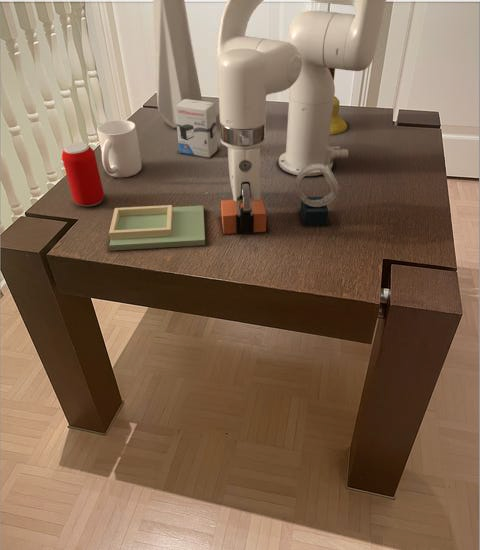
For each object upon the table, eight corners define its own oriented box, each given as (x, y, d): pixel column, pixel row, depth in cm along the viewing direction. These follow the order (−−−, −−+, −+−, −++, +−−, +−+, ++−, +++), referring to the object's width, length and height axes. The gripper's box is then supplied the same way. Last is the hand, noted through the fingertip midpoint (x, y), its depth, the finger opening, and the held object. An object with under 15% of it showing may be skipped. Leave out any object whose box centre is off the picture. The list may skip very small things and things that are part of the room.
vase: (201, 131, 123) (192, -11, 102) (159, 132, 123) (141, -11, 102) (205, 115, 132) (197, -19, 111) (165, 115, 133) (150, -18, 112)
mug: (125, 188, 99) (117, 143, 93) (91, 184, 101) (80, 139, 94) (147, 164, 108) (141, 121, 102) (116, 160, 110) (107, 118, 103)
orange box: (262, 215, 90) (262, 198, 88) (265, 231, 86) (266, 213, 83) (221, 218, 90) (221, 200, 87) (223, 234, 85) (222, 215, 83)
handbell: (354, 131, 122) (370, 27, 106) (311, 136, 120) (321, 30, 104) (336, 115, 131) (349, 17, 115) (296, 119, 129) (303, 20, 113)
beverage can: (85, 212, 92) (70, 156, 84) (69, 202, 95) (53, 147, 87) (111, 201, 95) (99, 146, 88) (94, 191, 98) (81, 137, 91)
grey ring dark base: (336, 225, 87) (344, 172, 80) (295, 226, 87) (299, 173, 80) (331, 209, 92) (338, 158, 85) (291, 210, 92) (295, 159, 85)
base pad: (203, 210, 92) (202, 198, 90) (205, 245, 83) (204, 232, 81) (118, 215, 91) (115, 203, 89) (110, 250, 82) (107, 238, 80)
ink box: (178, 152, 113) (173, 105, 105) (187, 145, 116) (183, 98, 109) (209, 158, 110) (207, 109, 103) (218, 150, 114) (216, 102, 106)
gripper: (272, 152, 70) (268, 248, 81) (258, 112, 83) (257, 199, 94) (223, 155, 69) (226, 250, 81) (217, 114, 82) (221, 201, 94)
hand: (243, 222), depth 87 cm, fingers closed on orange box, 5 cm apart
